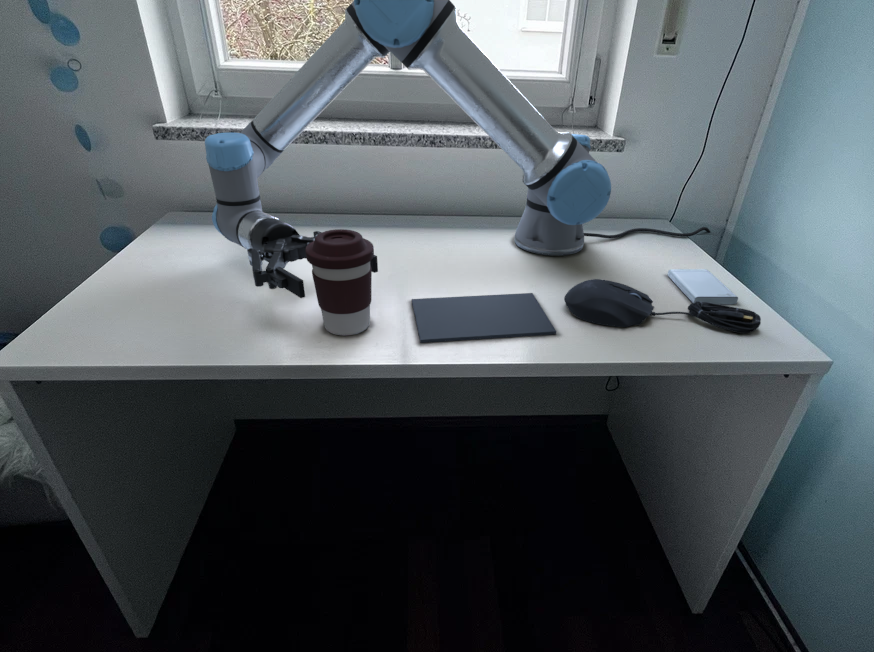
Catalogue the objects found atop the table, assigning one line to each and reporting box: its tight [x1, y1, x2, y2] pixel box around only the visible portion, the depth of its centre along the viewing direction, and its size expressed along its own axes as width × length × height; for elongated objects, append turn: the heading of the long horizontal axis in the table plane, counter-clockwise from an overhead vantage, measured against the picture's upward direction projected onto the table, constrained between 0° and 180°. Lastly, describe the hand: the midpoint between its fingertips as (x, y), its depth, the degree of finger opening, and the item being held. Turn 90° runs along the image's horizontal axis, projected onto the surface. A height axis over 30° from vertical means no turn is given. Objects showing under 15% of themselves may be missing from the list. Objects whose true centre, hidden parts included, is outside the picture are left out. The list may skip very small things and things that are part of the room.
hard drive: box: [667, 268, 739, 305], centre depth 104 cm, size 2×8×12 cm
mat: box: [411, 292, 557, 344], centre depth 92 cm, size 22×14×1 cm, turn 100°
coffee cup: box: [305, 228, 375, 337], centre depth 84 cm, size 10×10×15 cm
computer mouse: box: [563, 278, 762, 334], centre depth 92 cm, size 10×32×6 cm, turn 82°
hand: (340, 276), depth 84 cm, fingers open, 13 cm apart
